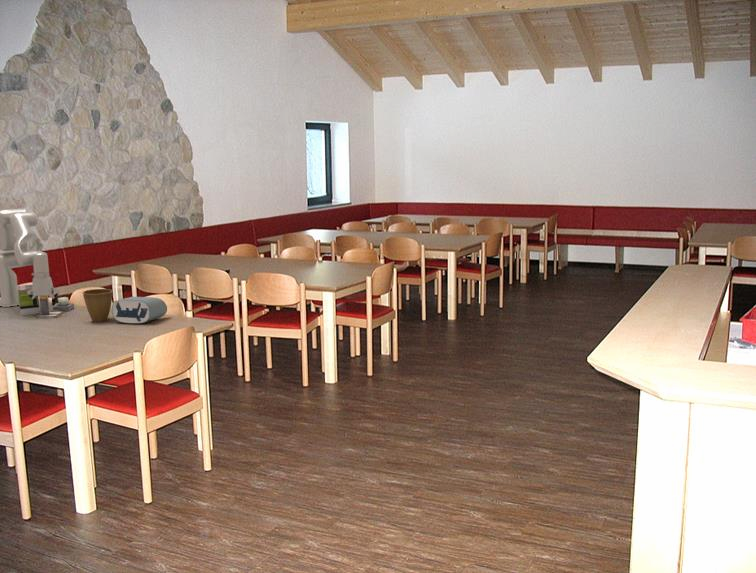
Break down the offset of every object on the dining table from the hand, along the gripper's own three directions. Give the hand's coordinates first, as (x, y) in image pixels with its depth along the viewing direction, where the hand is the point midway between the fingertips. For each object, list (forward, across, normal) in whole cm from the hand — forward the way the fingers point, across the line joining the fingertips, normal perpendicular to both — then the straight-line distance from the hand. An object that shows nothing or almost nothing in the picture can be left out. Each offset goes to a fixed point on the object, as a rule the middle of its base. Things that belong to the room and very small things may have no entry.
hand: (44, 305), depth 420 cm
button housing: (+6, +5, +15) cm, 17 cm away
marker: (+5, 0, 0) cm, 5 cm away
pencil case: (+6, +56, -20) cm, 60 cm away
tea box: (+6, -13, +12) cm, 19 cm away
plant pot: (+6, +34, -17) cm, 38 cm away
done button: (+3, +5, +15) cm, 16 cm away
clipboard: (+6, +2, +2) cm, 6 cm away
